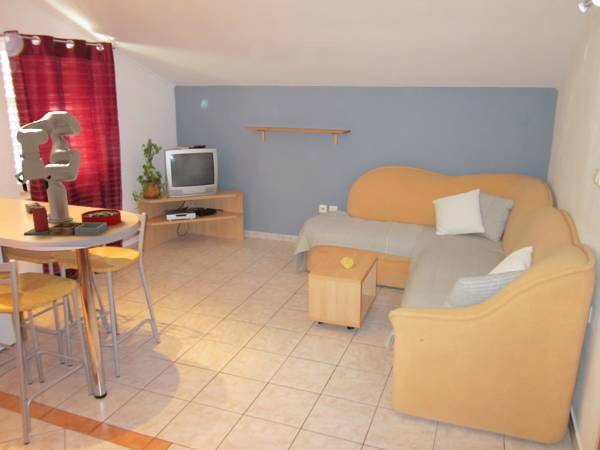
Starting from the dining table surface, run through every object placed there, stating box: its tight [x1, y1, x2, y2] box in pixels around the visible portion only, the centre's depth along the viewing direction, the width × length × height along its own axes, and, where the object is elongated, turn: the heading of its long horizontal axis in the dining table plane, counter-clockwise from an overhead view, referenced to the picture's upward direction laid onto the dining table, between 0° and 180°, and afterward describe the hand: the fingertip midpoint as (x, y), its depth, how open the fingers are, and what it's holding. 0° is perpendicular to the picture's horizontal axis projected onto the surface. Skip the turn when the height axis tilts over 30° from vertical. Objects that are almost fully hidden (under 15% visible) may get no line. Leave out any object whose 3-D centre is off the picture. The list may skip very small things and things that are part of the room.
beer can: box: [31, 205, 50, 231], centre depth 262 cm, size 7×7×12 cm
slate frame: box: [74, 223, 108, 236], centre depth 262 cm, size 12×12×4 cm
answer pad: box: [23, 226, 52, 236], centre depth 263 cm, size 12×12×1 cm
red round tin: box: [80, 208, 122, 228], centre depth 280 cm, size 20×6×20 cm
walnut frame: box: [49, 222, 82, 236], centre depth 262 cm, size 12×12×4 cm
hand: (36, 190), depth 258 cm, fingers open, 9 cm apart
